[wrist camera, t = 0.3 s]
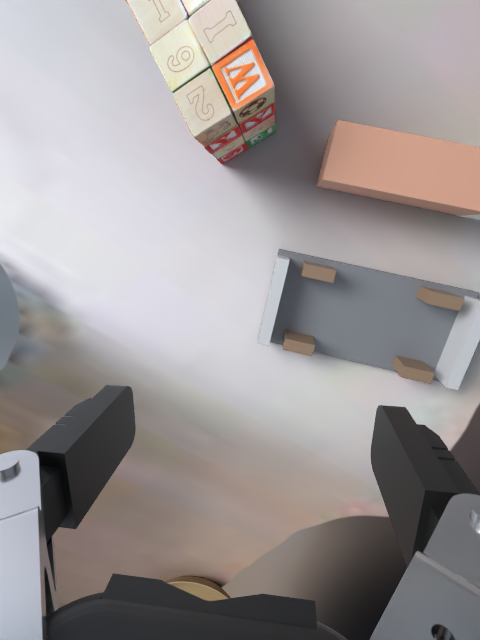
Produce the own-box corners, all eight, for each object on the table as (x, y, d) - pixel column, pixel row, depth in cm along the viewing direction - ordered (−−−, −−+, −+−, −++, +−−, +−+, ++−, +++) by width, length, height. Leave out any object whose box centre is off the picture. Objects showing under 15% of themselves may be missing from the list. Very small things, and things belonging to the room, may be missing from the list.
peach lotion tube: (328, 136, 33) (338, 118, 28) (497, 169, 33) (544, 158, 27) (316, 186, 35) (322, 179, 29) (477, 220, 34) (518, 219, 28)
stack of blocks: (110, -58, 31) (7, -226, 20) (167, -107, 30) (93, -319, 18) (222, 166, 35) (192, 138, 24) (278, 132, 34) (275, 85, 22)
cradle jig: (279, 248, 37) (278, 251, 33) (474, 291, 36) (497, 299, 32) (258, 336, 40) (256, 348, 36) (438, 377, 38) (455, 395, 35)
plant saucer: (262, 624, 52) (261, 645, 50) (181, 646, 55) (176, 666, 53) (213, 552, 49) (210, 569, 47) (131, 580, 53) (123, 598, 50)
